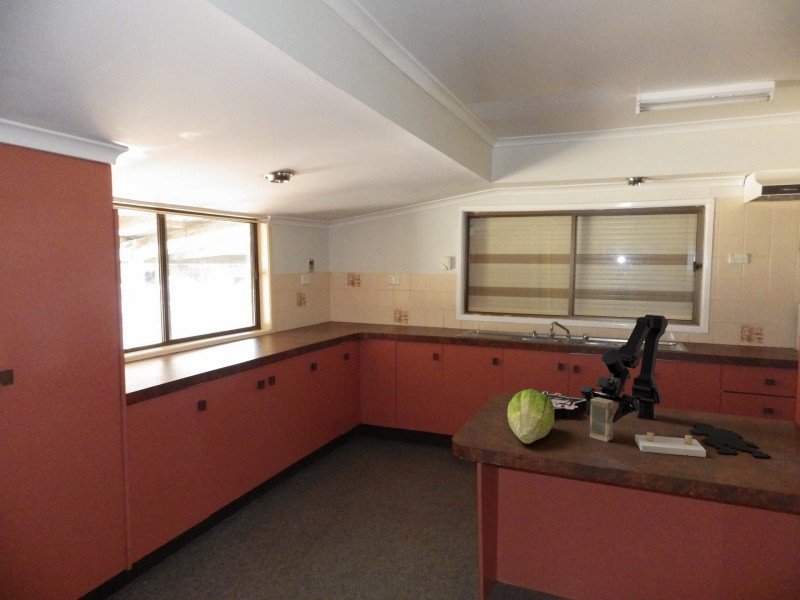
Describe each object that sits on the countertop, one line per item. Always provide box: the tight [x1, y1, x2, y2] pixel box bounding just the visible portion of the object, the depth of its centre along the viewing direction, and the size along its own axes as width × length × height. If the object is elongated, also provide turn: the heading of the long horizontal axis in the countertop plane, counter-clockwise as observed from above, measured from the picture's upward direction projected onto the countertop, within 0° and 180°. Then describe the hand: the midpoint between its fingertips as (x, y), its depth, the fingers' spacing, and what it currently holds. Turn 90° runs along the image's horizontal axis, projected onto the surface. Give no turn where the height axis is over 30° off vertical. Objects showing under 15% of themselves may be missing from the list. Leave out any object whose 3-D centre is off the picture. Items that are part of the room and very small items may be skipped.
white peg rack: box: [634, 431, 707, 458], centre depth 158 cm, size 10×18×4 cm, turn 75°
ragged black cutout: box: [688, 422, 771, 460], centre depth 166 cm, size 16×1×30 cm
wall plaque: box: [518, 390, 587, 420], centre depth 199 cm, size 28×4×30 cm
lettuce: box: [506, 388, 555, 444], centre depth 170 cm, size 15×24×16 cm
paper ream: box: [589, 397, 615, 442], centre depth 167 cm, size 4×6×13 cm
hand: (599, 418), depth 167 cm, fingers open, 9 cm apart
